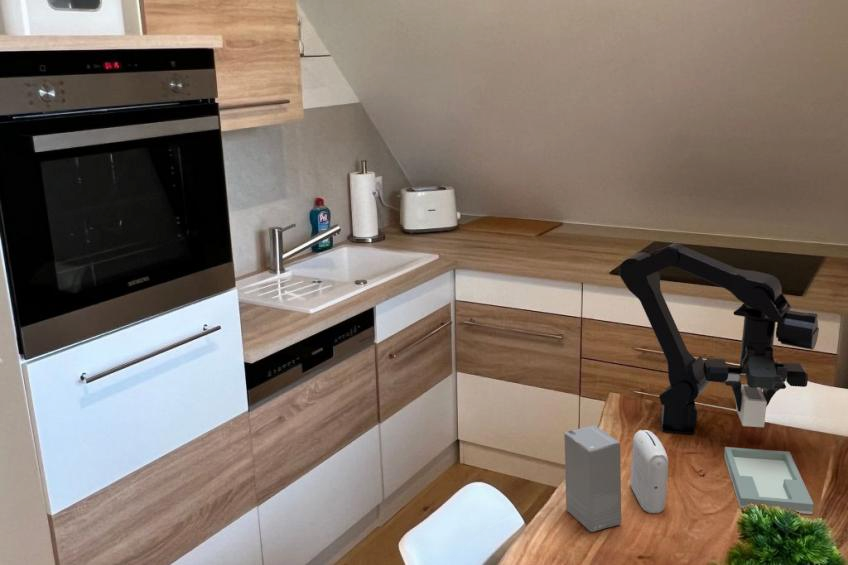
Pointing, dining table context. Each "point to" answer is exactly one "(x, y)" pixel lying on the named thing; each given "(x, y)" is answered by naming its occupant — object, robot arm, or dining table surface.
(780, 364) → the robot arm
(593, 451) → the skincare box
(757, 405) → the socket block
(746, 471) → the keyhole tray
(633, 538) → the dining table surface
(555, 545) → the dining table surface
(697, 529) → the dining table surface
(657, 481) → the photo printer
